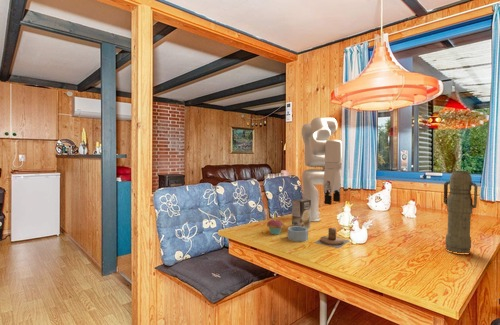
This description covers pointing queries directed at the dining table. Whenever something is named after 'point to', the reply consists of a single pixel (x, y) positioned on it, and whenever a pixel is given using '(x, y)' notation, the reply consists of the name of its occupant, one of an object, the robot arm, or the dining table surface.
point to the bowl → (297, 233)
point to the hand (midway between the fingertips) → (332, 202)
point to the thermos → (459, 211)
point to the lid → (332, 238)
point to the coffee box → (301, 213)
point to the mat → (331, 245)
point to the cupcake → (275, 226)
